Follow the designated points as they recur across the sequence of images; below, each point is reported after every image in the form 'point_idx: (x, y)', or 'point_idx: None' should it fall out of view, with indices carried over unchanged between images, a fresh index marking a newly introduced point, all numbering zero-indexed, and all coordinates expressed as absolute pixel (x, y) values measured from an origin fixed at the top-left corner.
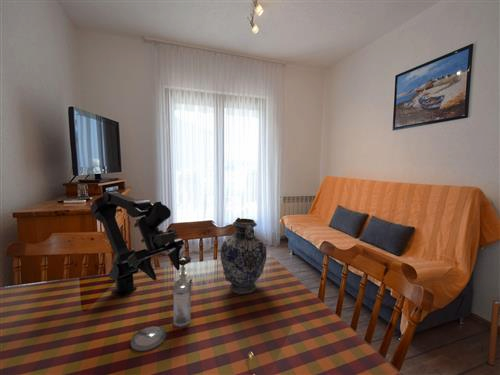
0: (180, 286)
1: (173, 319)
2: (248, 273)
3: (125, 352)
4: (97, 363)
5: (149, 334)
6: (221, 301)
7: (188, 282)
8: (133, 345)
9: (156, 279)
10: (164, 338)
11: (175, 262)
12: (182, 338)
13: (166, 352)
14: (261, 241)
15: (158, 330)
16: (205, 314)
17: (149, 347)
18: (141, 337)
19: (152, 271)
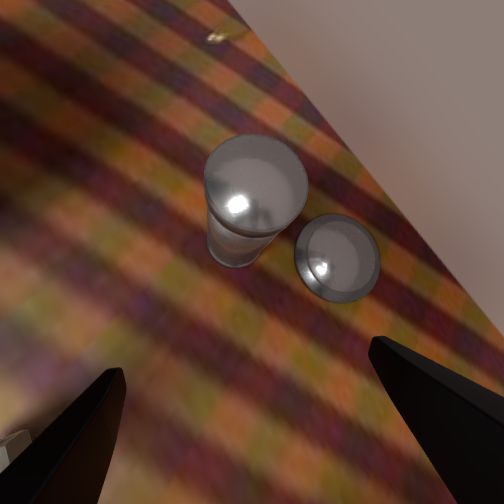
0: (265, 184)
1: (255, 258)
2: None
3: (390, 263)
4: (439, 281)
5: (340, 255)
6: (51, 212)
7: (4, 445)
8: (377, 260)
9: (374, 337)
10: (312, 220)
11: (73, 489)
12: None
13: (328, 185)
14: None
15: (315, 249)
16: (160, 207)
17: (353, 222)
18: (359, 262)
19: (466, 386)
